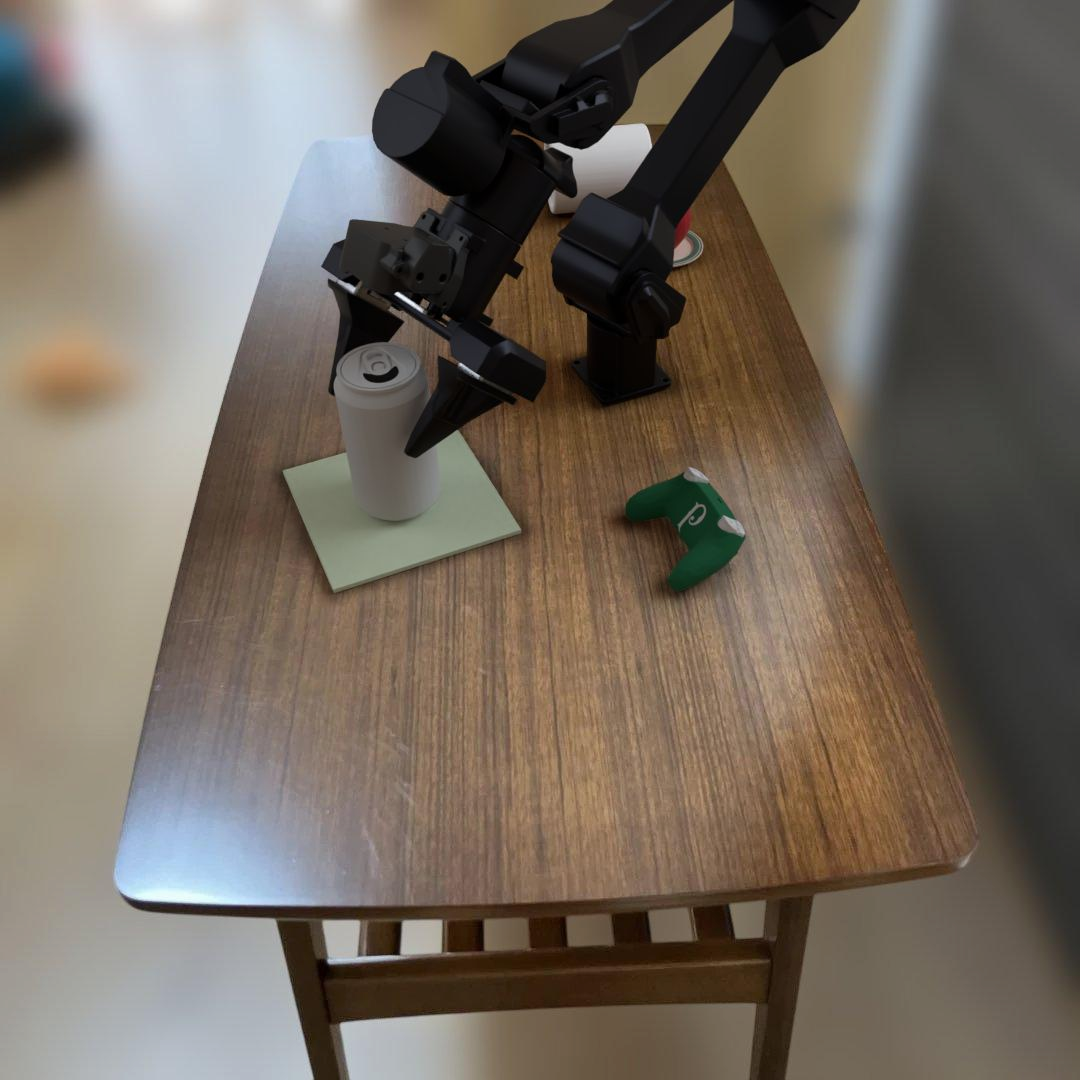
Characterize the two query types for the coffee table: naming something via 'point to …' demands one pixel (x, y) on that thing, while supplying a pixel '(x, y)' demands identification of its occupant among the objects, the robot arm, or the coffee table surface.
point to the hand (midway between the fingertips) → (370, 424)
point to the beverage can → (386, 430)
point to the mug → (603, 165)
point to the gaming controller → (691, 524)
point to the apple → (686, 243)
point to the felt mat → (394, 546)
